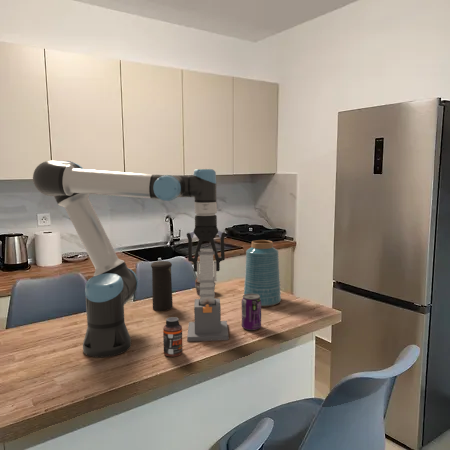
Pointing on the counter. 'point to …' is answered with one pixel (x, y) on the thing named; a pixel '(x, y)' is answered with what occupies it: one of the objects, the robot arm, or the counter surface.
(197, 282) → the cupcake
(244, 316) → the beverage can
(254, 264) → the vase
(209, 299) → the column
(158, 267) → the container
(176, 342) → the supplement bottle
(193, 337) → the stand
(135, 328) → the counter surface
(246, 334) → the counter surface
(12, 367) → the counter surface
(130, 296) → the robot arm
